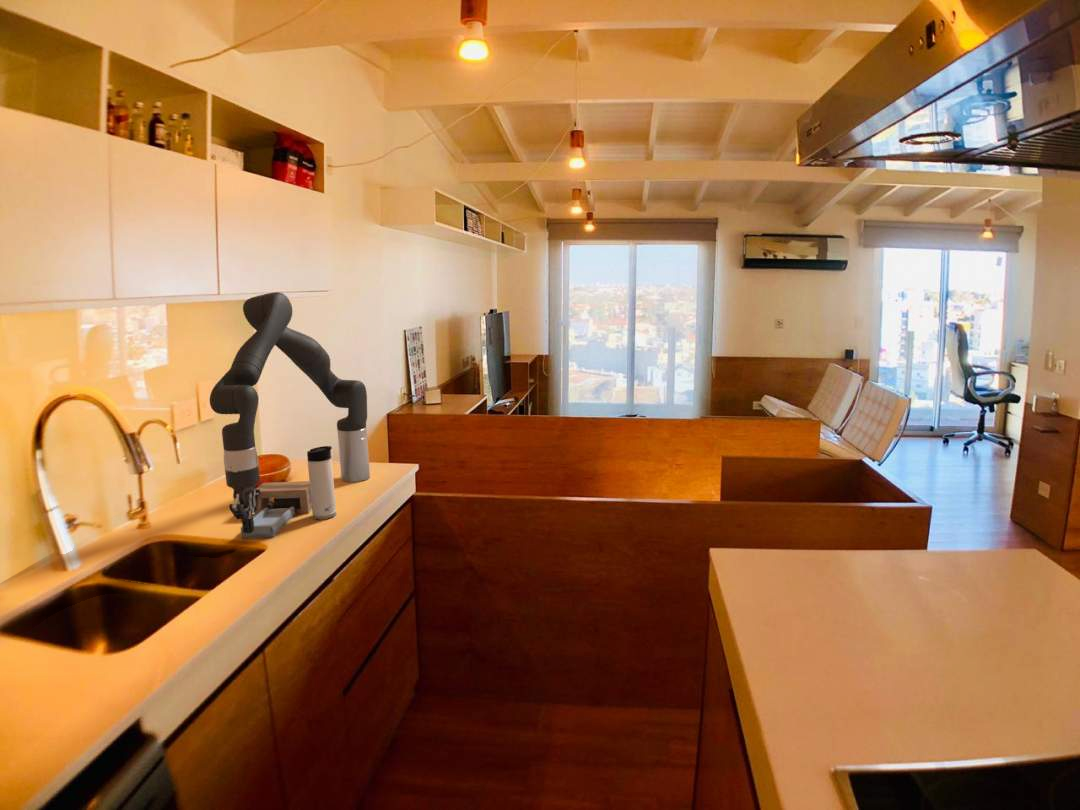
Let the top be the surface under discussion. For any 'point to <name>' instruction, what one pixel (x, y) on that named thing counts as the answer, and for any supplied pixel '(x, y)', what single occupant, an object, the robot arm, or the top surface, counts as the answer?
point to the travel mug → (321, 482)
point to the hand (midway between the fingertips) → (248, 532)
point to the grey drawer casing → (285, 495)
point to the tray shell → (269, 522)
